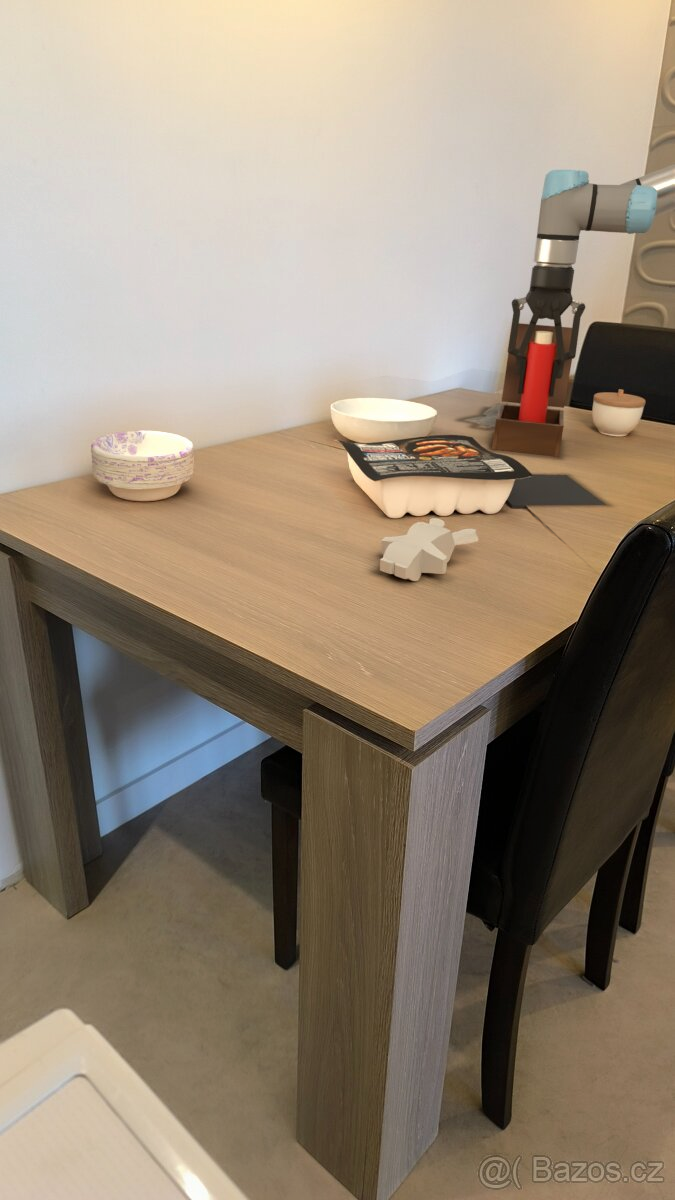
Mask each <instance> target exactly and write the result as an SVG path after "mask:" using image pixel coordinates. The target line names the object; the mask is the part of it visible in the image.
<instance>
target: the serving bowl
mask: <svg viewBox="0 0 675 1200" xmlns="http://www.w3.org/2000/svg"><path fill="white" fill-rule="evenodd" d="M330 417H331V421H332V423H333V425H334V427H335V429H336V430H337V431H338V433H339V434H340V435H341V436H343V437H344V438H346V439H348V440H350V441H353V442H354V443H374V442H384V441H393V440H401V439H408V438H416V437H424V436H429V434H430V433H431V432H432V431H433V429H434V427H435V424H436V421H437V418H438V411H437V410H436V409H435V408H434V407H431V406H429V405H426V404H424V403H420V402H414V401H410V400H404V399H396V398H395V399H394V398H382V397H381V398H379V397H354V398H346V399H345V398H344V399H340V400H336V401H334V402H332V403H331V404H330Z"/></svg>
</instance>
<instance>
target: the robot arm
mask: <svg viewBox="0 0 675 1200" xmlns="http://www.w3.org/2000/svg"><path fill="white" fill-rule="evenodd" d="M674 210H675V163H674V164H671V165H669V166H665V167H664V168H661V169H658V170H654V171H653V172H649V173H647V174H644V175H641V176H639V177H637V178H634V179H631V180H629V181H626V182H623V183H620V184H597V183H590V179H589V172H587V171H586V170H581V169H579V170H575V169H552V170H550V171H549V172H547V173H546V174H545V177H544V182H543V188H542V193H541V198H540V206H539V215H538V223H537V231H536V238H535V244H534V253H533V260H532V261H533V262H534V263H536V264H535V265H533V266H532V269H531V276H530V282H529V283H530V284H529V290H528V292H527V294H526V295H525V296H523V297H519V298H513V299H512V301H511V308H512V312H513V313H512V319H511V327H510V333H509V340H508V346H507V354H508V353H509V354H512V355H514V356H515V357H516V366H515V375H520V381H519V389H518V394H522V389H523V382H524V375H525V367H526V360H527V357H523V355H524V353H525V350H526V348H527V345H528V343H529V340H530V338H531V336H532V333H533V331H534V328H535V326H536V325H537V324H538V320H539V319H540V320H542V319H548V320H551V321H552V320H553V326H555V333H556V341H557V350H558V360H554V366H553V373H552V380H551V386H550V393H549V396H550V397H553V394H554V387H555V381H556V378H558V379H561V378H562V375H563V369H564V363H565V361H566V360H569V359H572V360H574V359H575V358H576V355H577V347H578V341H579V332H580V324H581V317H582V315H583V314H584V311H585V310H586V304H585V303H584V302H579V301H577V300H574V298H573V295H572V290H573V289H572V288H573V283H574V282H573V281H574V276H575V269H574V267H573V266H572V265H575V264H576V262H577V256H578V251H579V250H578V249H579V243H580V234H581V231H585V232H602V233H603V232H605V233H618V234H619V233H620V234H621V233H622V234H628V235H633V234H646V233H648V232H649V231H650V230H651V228H652V226H653V222H654V219H655V218H656V217H657V216H660V215H663V214H666V213H669V212H671V211H674ZM525 304H527V306H528V307H529V310H530V311H531V313H532V316H531V318H530V321H529V322H528V324H529V326H528V328H527V331H526V333H525V335H524V338H523V340H522V343H521V345H520V348H519V349H517V348H515V345H516V338H517V332H518V325H519V323H520V318H521V311H523V310H524V308H525ZM570 306H571V313H572V314H573V318H572V325H571V326H572V327H571V328H572V333H571V341H570V348H569V352H566V353H565V351H564V342H563V333H562V327H563V326H562V325H563V323H562V317H561V316H562V315H563V314H564V313H565V312H566V310H568V308H569V307H570Z"/></svg>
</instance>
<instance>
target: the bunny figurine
mask: <svg viewBox="0 0 675 1200" xmlns="http://www.w3.org/2000/svg"><path fill="white" fill-rule="evenodd" d="M445 525H446V524H445V521H444V520H443V519H441V518H437V517H432V518H430V519H429V521H428V522H424V521H418V522H415V523H414V524H412V525H411V526H410V527H409V529H408V531H407V532H406V534H404V535H403V534H402V535H395V536H385V537H383V538H382V539H381V552H380V553H381V555H383V556H382V558H380V559H379V571H381V572H383V573H386V574H389V575H394V576H395V577H398V578H400V579H403V580H409V581H412V582H418V581H419V580H420V579H421V576H422V574H436V575H437V574H438V575H443V574H446V573H447V568H448V563H449V562H450V559H451V557H452V555H453V552H454V550H455V547H456V546H459V545H467V544H474V543H476V542H479V539H480V537H479V534H478V532H477V529H475V528H462V529H459V530H457V531H454V532H452V531H451V530H450V529H448V528H446V527H444V526H445Z"/></svg>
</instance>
